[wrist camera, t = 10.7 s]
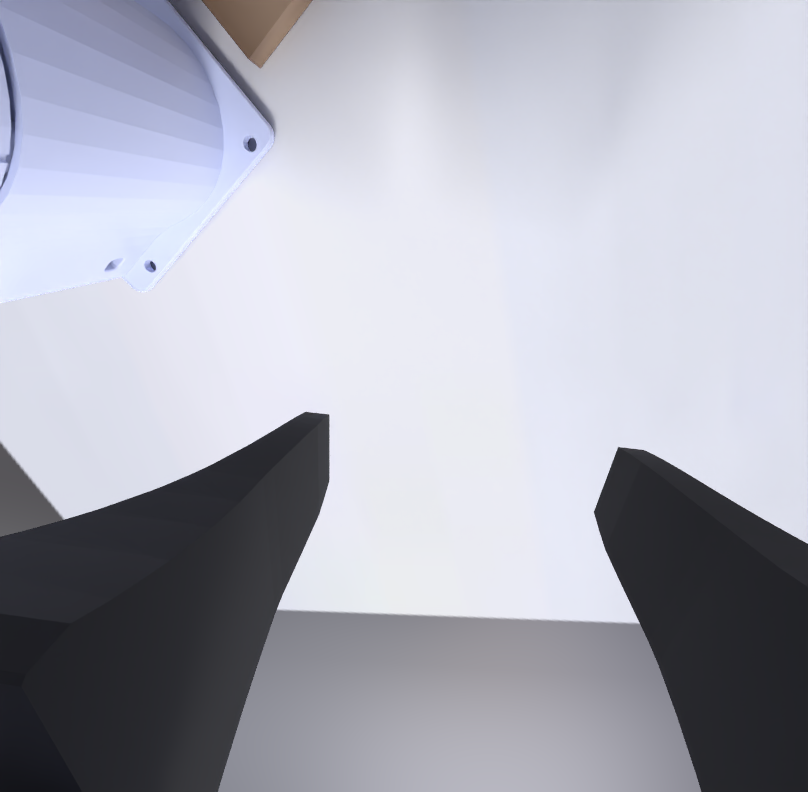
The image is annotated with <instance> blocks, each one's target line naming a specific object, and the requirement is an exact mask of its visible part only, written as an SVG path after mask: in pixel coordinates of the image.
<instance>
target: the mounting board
mask: <svg viewBox="0 0 808 792" xmlns="http://www.w3.org/2000/svg"><path fill="white" fill-rule="evenodd" d="M202 1H203V2H204V4H205V5H206V6H207V7H208V9H209V10H210V11H211V12H212V14H213V15H214V16H215V17H216V19H217V20H218V21H219V23H220V24H221V25H222V26H223V28H224V29H225V30H226V31H227V33H228V34H229V35H230V36H231V38H232V39H233V40H234V41H235V43H236V44H237V45H238V46H239V48H240V49H241V50H242V51H243V53H244V54H245V55H246V56H247V58H248V59H249V60H250V61H252V62H253V63H254V64H256V65H257V66H258V67H259V68H261V67H262V66H263V64H264V63H265V62H266V60H267V59H268V58H269V56H270V55H271V54H272V53H273V51H274V50H275V49H276V47H277V46H278V45H279V43H280V42H281V41H282V39H283V38H284V37H285V36H286V34H287V33H288V32H289V30H290V29H291V28H292V26H293V25H294V24H295V22H296V21H297V20H298V18H299V17H300V16H301V15H302V13H303V12H304V11H305V9H306V8H307V7H308V5H309V4H310V3H311V1H312V0H202Z"/></svg>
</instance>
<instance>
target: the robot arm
mask: <svg viewBox="0 0 808 792" xmlns="http://www.w3.org/2000/svg"><path fill="white" fill-rule="evenodd" d="M252 137H253V138H254V139H255V141H256V144H257V147H256V149H255V151H253V152H251V151H250V150H249V148H248V141H249V139H250V138H252ZM274 138H275V136H274V131H273V129H272V127H271V125H270V124H269V123H268V122H267V120H266V119H265V118H264V117H263V116H262V114H261V113H260V112H259V111H258V109H257V108H256V107H255V106H254V105H253V103H252V102H251V101H250V100H249V98H248V97H247V96H246V95H245V94H244V92H243V91H242V90H241V89H240V87H239V86H238V85H237V84H236V83H235V81H234V80H233V79H232V78H231V76H230V75H229V74H228V73H227V72H226V70H225V69H224V68H223V67H222V66H221V64H220V63H219V62H218V61H217V59H216V58H215V57H214V56H213V55H212V53H211V52H210V51H209V50H208V48H207V47H206V46H205V45H204V44H203V42H202V41H201V40H200V39H199V37H198V36H197V35H196V34H195V33H194V31H193V30H192V29H191V28H190V26H189V25H188V24H187V23H186V22H185V20H184V19H183V18H182V17H181V16H180V14H179V13H178V12H177V11H176V9H175V8H174V7H173V6H172V5H171V3H170V2H169V1H168V0H0V303H4V302H9V301H14V300H18V299H23V298H28V297H33V296H37V295H42V294H47V293H51V292H56V291H61V290H65V289H70V288H75V287H80V286H84V285H89V284H94V283H98V282H103V281H108V280H112V279H117V278H123V279H124V280H125V281H126V282H127V283H128V284H129V285H130V286H131V287H132V288H133V289H135V290H136V291H139V292H146V291H149V290H151V289H152V288H153V287H154V286H155V285H156V283H157V282H158V281H159V280H160V279H161V278H162V276H163V275H164V274H165V273H166V272H167V270H168V269H169V268H170V267H171V266H172V264H173V263H174V262H175V261H176V260H177V259H178V257H179V256H180V255H181V254H182V253H183V251H184V250H185V249H186V248H187V247H188V245H189V244H190V243H191V242H192V241H193V240H194V238H195V237H196V236H197V235H198V234H199V232H200V231H201V230H202V229H203V228H204V226H205V225H206V224H207V223H208V222H209V220H210V219H211V218H212V217H213V216H214V215H215V213H216V212H217V211H218V210H219V209H220V207H221V206H222V205H223V204H224V203H225V201H226V200H227V199H228V198H229V197H230V196H231V194H232V193H233V192H234V191H235V190H236V188H237V187H238V186H239V185H240V184H241V182H242V181H243V180H244V179H245V178H246V177H247V175H248V174H249V173H250V172H251V171H252V169H253V168H254V167H255V166H256V165H257V163H258V162H259V161H260V160H261V159H262V158H263V156H264V155H265V154H266V153H267V152H268V150H269V149H270V148H271V147H272V145H273V143H274ZM151 261H152V262H154V264H155V265H156V270H153V269H152V267H151V265H150V262H151ZM328 483H329V415H328V414H319V413H310V412H305V413H303V414H301V415H299V416H297V417H295V418H294V419H292V420H290V421H289V422H287V423H285V424H284V425H282V426H280V427H279V428H277V429H275V430H274V431H272V432H270V433H269V434H267V435H265V436H263V437H262V438H260V439H258V440H257V441H255V442H253V443H252V444H250V445H248V446H246V447H244V448H242V449H241V450H239V451H237V452H235V453H233V454H231V455H229V456H227V457H225V458H224V459H222V460H220V461H218V462H216V463H214V464H212V465H210V466H208V467H206V468H204V469H202V470H200V471H197V472H195V473H193V474H191V475H189V476H186V477H184V478H182V479H179V480H177V481H174V482H172V483H170V484H167V485H165V486H163V487H160V488H157V489H155V490H152V491H149V492H147V493H144V494H141V495H138V496H135V497H133V498H130V499H127V500H124V501H121V502H118V503H116V504H113V505H110V506H107V507H104V508H101V509H98V510H95V511H92V512H89V513H85V514H82V515H79V516H75V517H72V518H69V519H65V520H62V521H59V522H55V523H51V524H48V525H44V526H40V527H37V528H33V529H30V530H26V531H22V532H18V533H14V534H10V535H6V536H2V537H0V792H218V789H219V786H220V782H221V779H222V775H223V772H224V769H225V765H226V762H227V759H228V756H229V752H230V749H231V746H232V743H233V739H234V736H235V733H236V730H237V727H238V724H239V720H240V717H241V713H242V711H243V708H244V705H245V701H246V698H247V695H248V692H249V689H250V686H251V683H252V680H253V677H254V674H255V671H256V668H257V664H258V662H259V659H260V656H261V653H262V650H263V647H264V644H265V641H266V638H267V635H268V632H269V629H270V626H271V624H272V621H273V618H274V615H275V612H276V610H277V607H278V605H279V602H280V600H281V598H282V595H283V593H284V590H285V588H286V586H287V584H288V582H289V580H290V577H291V575H292V573H293V571H294V569H295V566H296V564H297V562H298V560H299V558H300V555H301V553H302V551H303V549H304V547H305V544H306V542H307V540H308V538H309V536H310V533H311V531H312V529H313V527H314V524H315V522H316V520H317V518H318V515H319V513H320V509H321V506H322V503H323V500H324V497H325V493H326V490H327V486H328ZM594 514H595V517H596V521H597V524H598V528H599V531H600V534H601V537H602V541H603V544H604V547H605V550H606V552H607V554H608V556H609V559H610V561H611V563H612V565H613V567H614V569H615V572H616V574H617V576H618V578H619V580H620V582H621V585H622V587H623V589H624V591H625V593H626V595H627V597H628V599H629V601H630V603H631V606H632V608H633V610H634V612H635V614H636V616H637V618H638V620H639V622H640V625H641V627H642V629H643V631H644V633H645V635H646V637H647V639H648V641H649V644H650V646H651V648H652V651H653V653H654V655H655V658H656V660H657V662H658V665H659V668H660V670H661V673H662V676H663V679H664V681H665V684H666V687H667V690H668V692H669V695H670V698H671V701H672V703H673V706H674V709H675V712H676V714H677V717H678V720H679V723H680V726H681V729H682V733H683V735H684V739H685V742H686V745H687V748H688V750H689V754H690V757H691V760H692V763H693V766H694V769H695V772H696V775H697V778H698V782H699V785H700V788H701V792H808V544H807V543H805V542H803V541H801V540H800V539H798V538H796V537H794V536H792V535H791V534H789V533H787V532H785V531H783V530H782V529H780V528H778V527H776V526H774V525H773V524H771V523H769V522H767V521H765V520H764V519H762V518H760V517H758V516H757V515H755V514H753V513H752V512H750V511H748V510H746V509H745V508H743V507H741V506H740V505H738V504H736V503H735V502H733V501H731V500H730V499H728V498H726V497H725V496H723V495H721V494H720V493H718V492H716V491H715V490H713V489H711V488H710V487H708V486H706V485H705V484H703V483H701V482H700V481H698V480H697V479H695V478H693V477H692V476H690V475H688V474H687V473H685V472H683V471H682V470H680V469H678V468H677V467H675V466H673V465H671V464H670V463H668V462H666V461H664V460H663V459H661V458H659V457H657V456H655V455H653V454H651V453H649V452H647V451H644V450H638V449H629V448H620V447H618V449H617V452H616V455H615V457H614V460H613V463H612V465H611V468H610V471H609V473H608V476H607V479H606V481H605V484H604V487H603V489H602V492H601V495H600V497H599V500H598V503H597V505H596V508H595V511H594Z"/></svg>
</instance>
